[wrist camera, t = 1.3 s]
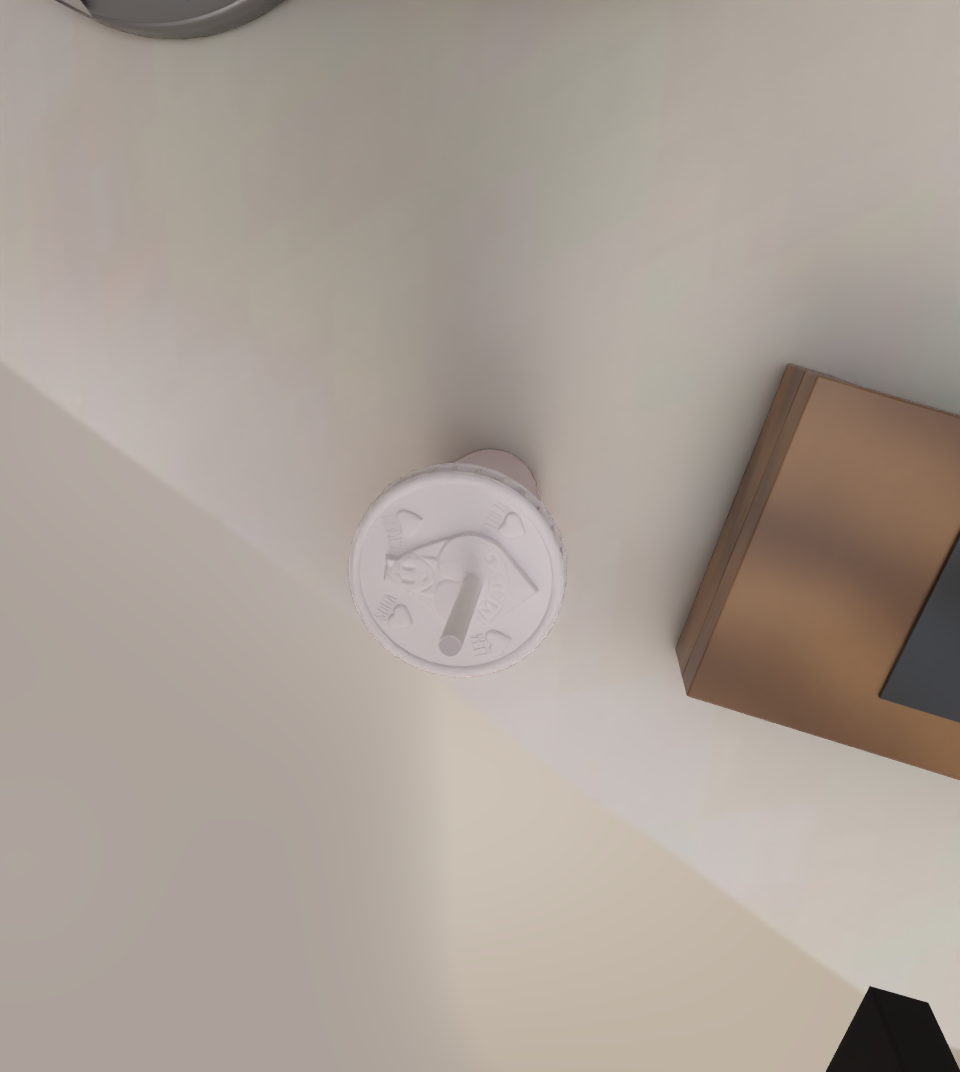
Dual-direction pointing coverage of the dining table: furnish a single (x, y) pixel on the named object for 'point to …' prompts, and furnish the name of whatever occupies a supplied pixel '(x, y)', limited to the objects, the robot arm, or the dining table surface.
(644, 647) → the dining table surface
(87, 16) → the robot arm
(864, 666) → the wooden board with backrest
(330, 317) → the dining table surface
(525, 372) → the dining table surface
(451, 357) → the dining table surface
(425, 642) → the smoothie
